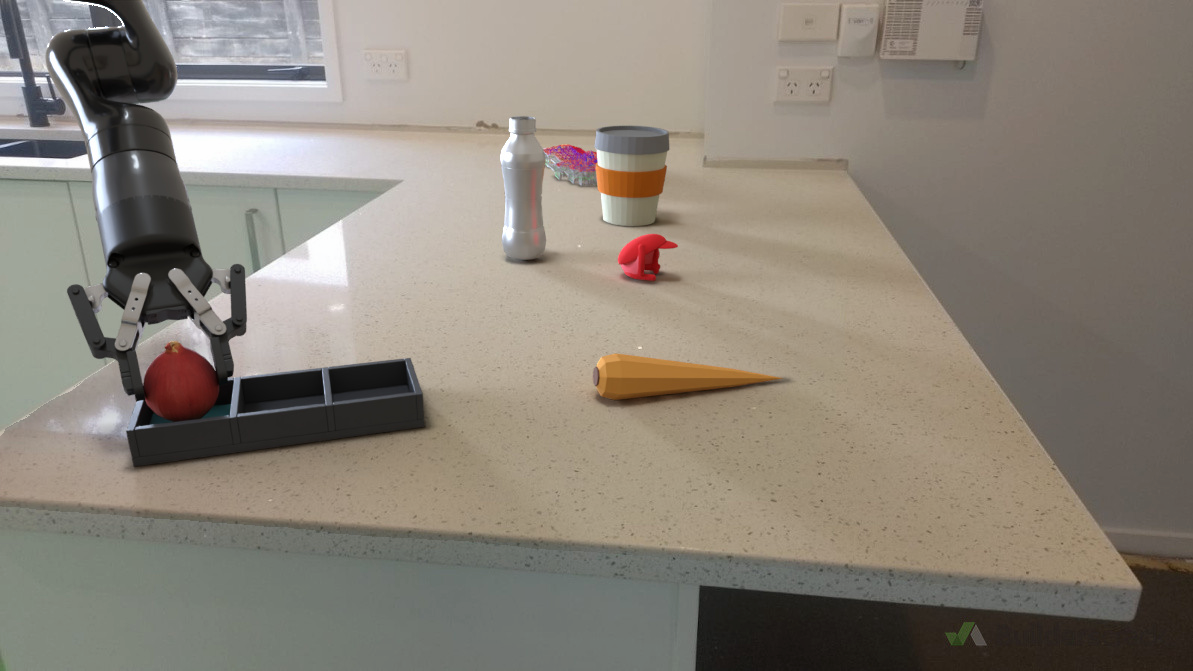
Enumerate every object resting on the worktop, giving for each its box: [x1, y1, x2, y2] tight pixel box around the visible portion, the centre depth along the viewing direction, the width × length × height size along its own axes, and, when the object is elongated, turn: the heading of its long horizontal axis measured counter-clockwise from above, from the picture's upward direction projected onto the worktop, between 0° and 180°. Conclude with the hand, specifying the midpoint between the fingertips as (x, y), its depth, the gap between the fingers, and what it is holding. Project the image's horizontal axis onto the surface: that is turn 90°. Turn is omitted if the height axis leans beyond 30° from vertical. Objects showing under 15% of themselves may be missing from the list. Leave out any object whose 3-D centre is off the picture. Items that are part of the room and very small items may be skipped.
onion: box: [142, 340, 219, 422], centre depth 71 cm, size 6×6×8 cm
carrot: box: [592, 352, 784, 401], centre depth 83 cm, size 20×4×4 cm, turn 104°
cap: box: [617, 233, 679, 282], centre depth 115 cm, size 8×6×6 cm
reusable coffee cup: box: [594, 125, 671, 227], centre depth 142 cm, size 13×13×15 cm
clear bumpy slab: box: [542, 143, 598, 187], centre depth 180 cm, size 30×15×5 cm, turn 15°
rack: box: [125, 357, 426, 467], centre depth 74 cm, size 23×8×3 cm, turn 109°
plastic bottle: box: [499, 115, 547, 261], centre depth 119 cm, size 6×7×20 cm
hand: (183, 388), depth 69 cm, fingers closed on onion, 5 cm apart
